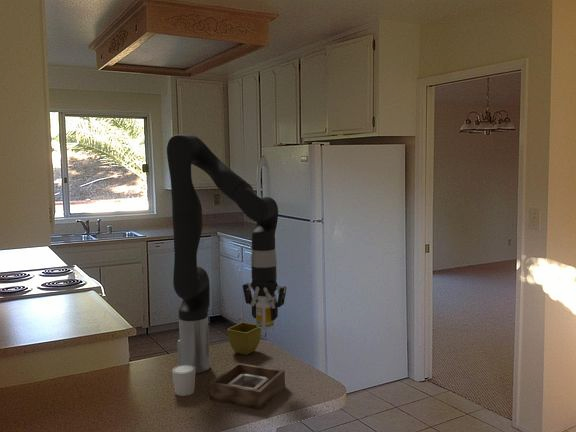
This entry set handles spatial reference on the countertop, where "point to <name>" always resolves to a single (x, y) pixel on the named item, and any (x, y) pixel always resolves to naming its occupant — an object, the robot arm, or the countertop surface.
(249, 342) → the flower pot
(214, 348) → the countertop surface
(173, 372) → the white cup
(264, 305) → the supplement bottle
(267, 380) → the walled box
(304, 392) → the countertop surface
